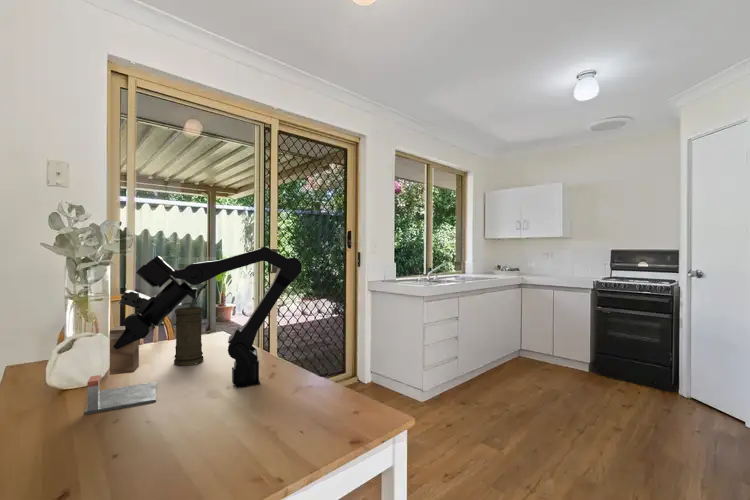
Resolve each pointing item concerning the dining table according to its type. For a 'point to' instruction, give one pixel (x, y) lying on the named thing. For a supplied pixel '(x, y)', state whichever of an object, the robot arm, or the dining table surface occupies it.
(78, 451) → the dining table surface
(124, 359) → the link block
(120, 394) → the keeper
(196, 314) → the container
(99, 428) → the dining table surface
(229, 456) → the dining table surface
